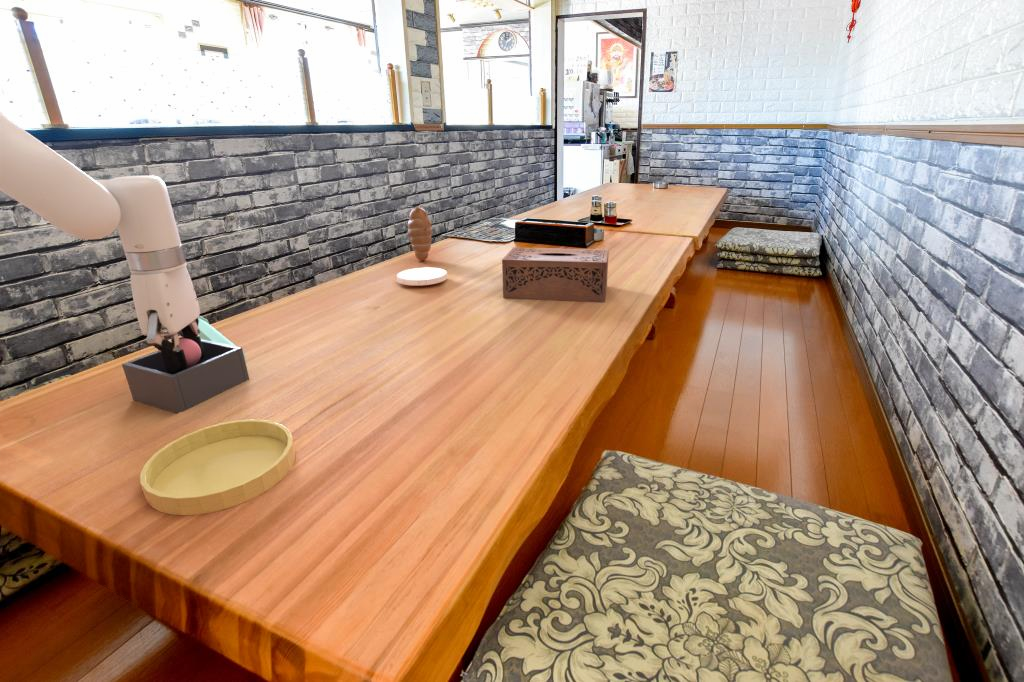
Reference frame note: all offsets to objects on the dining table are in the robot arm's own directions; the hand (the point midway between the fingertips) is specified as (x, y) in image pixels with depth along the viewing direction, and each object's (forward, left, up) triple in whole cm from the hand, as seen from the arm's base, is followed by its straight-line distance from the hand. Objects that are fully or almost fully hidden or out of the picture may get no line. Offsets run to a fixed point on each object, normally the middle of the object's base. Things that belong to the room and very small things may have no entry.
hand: (186, 364), depth 89 cm
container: (+12, +11, -5) cm, 17 cm away
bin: (0, 0, -5) cm, 5 cm away
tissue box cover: (+77, -37, -5) cm, 86 cm away
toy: (0, 0, 0) cm, 0 cm away
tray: (-14, -26, -5) cm, 30 cm away
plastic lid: (+72, +2, -5) cm, 72 cm away
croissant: (+94, +17, -5) cm, 96 cm away
